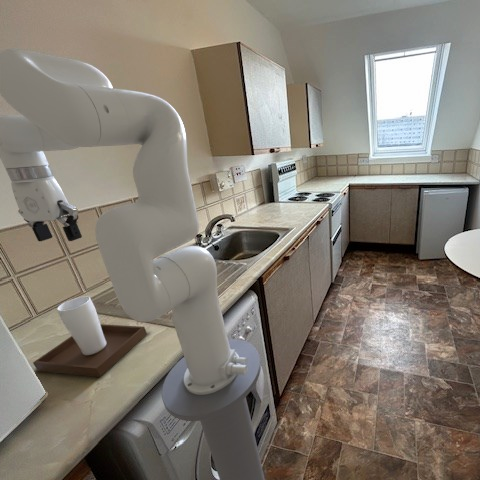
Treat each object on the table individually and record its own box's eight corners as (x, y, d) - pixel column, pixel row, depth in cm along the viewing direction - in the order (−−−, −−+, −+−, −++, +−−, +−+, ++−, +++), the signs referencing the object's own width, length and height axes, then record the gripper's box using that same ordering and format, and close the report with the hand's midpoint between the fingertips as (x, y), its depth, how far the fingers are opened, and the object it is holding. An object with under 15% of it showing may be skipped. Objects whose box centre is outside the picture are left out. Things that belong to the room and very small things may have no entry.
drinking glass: (86, 361, 69) (62, 314, 64) (75, 353, 72) (51, 307, 67) (115, 344, 74) (95, 299, 69) (103, 337, 78) (83, 293, 72)
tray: (147, 334, 79) (144, 326, 78) (100, 377, 65) (96, 368, 64) (93, 330, 82) (89, 323, 81) (37, 370, 68) (32, 362, 67)
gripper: (-16, 178, 63) (18, 244, 69) (42, 175, 60) (73, 244, 66) (21, 174, 70) (49, 234, 76) (76, 171, 67) (100, 234, 73)
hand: (60, 239), depth 71 cm, fingers open, 9 cm apart
